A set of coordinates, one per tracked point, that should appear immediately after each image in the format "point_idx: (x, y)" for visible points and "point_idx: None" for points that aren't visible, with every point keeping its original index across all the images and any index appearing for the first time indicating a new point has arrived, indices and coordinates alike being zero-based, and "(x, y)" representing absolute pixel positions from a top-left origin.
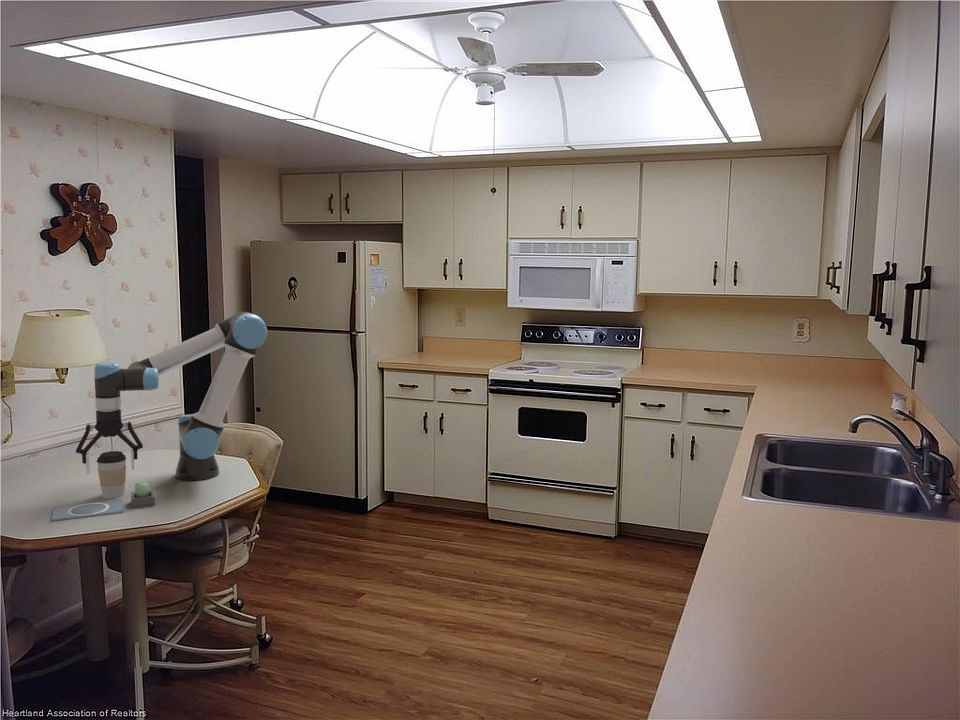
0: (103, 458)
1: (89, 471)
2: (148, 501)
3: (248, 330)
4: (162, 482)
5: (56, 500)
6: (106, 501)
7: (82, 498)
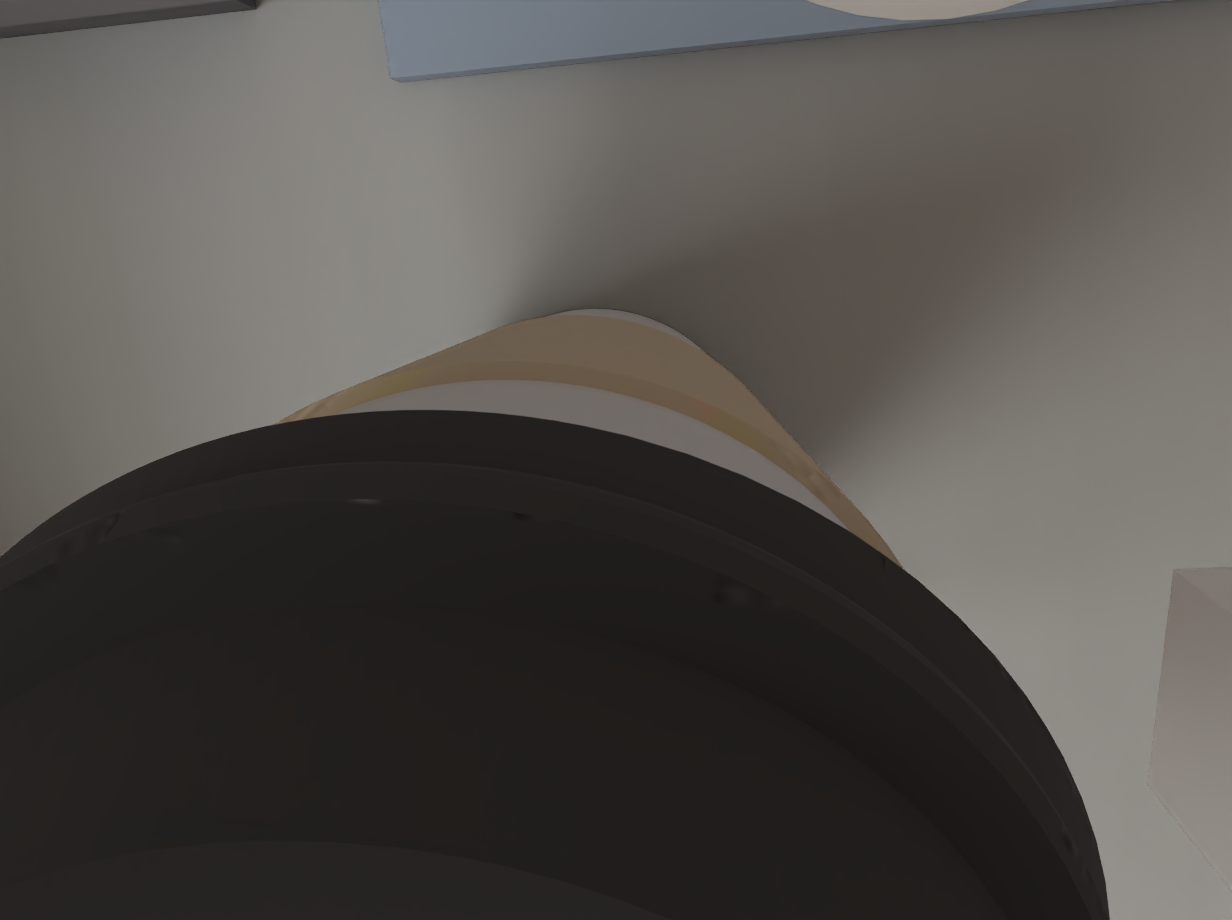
0: (816, 819)
1: (1170, 716)
2: None
3: None
4: None
5: None
6: (661, 46)
7: (1045, 462)
